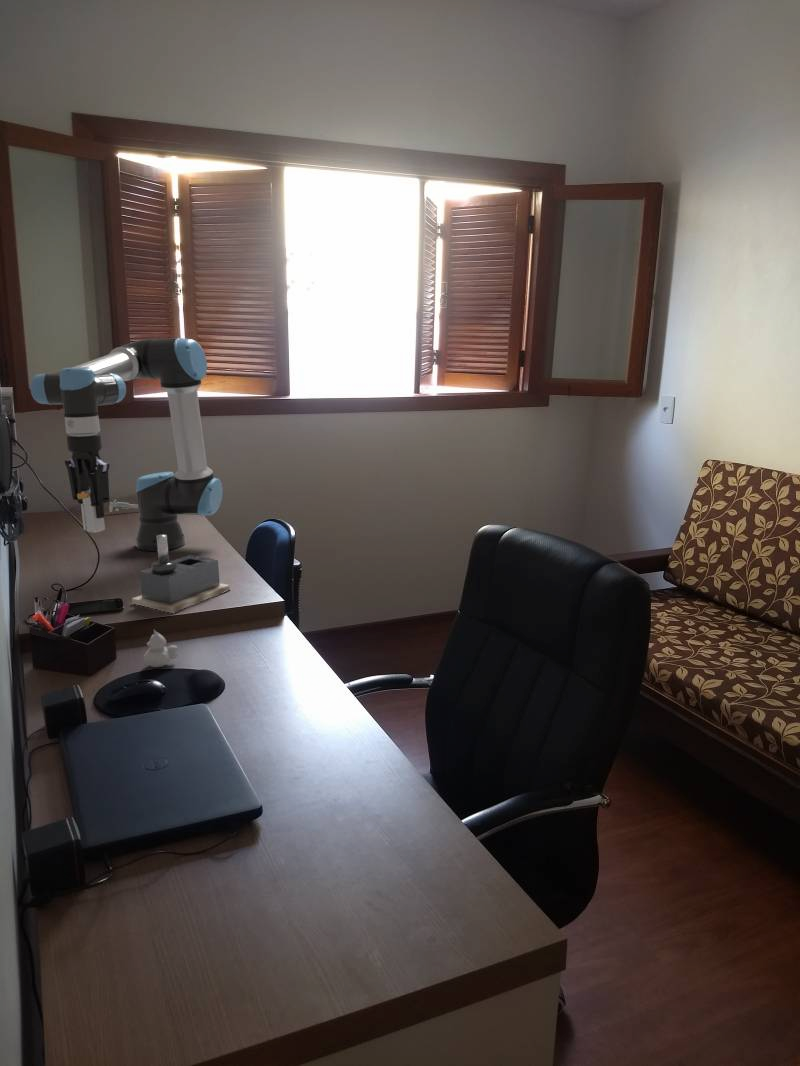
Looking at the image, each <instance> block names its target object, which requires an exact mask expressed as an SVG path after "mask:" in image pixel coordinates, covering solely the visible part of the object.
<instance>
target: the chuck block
mask: <svg viewBox="0 0 800 1066" xmlns="http://www.w3.org/2000/svg"><path fill="white" fill-rule="evenodd" d="M157 546H158V551H157V555H158V557H157V558H158V560H155V561H153V562H151V564H150V565H151V567H148V568H146V569H143V570H140V571H139V577H140V578H139V580H140V586H141V587H140V589H141V590H140V591H141V595H142V598H144V599H148V600H153V601H157V602H161V603H166V604H170V605H171V604H174V603H176V602H179V601H181V600H184V599H187V598H189V597H192V596H194V595H197V594H199V593H202V592H204V591H207V590H210V589H212V588H215V587H217V586H220V583H221V582H220V571H219V559H216V558H210V557H203V556H198V555H192V554H188V555H184V556H182V557H179V558H176V559H170V556H169V550H168V544H167V535H165V534H161V535H157Z"/></svg>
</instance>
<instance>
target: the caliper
mask: <svg viewBox="0 0 800 1066" xmlns="http://www.w3.org/2000/svg"><path fill="white" fill-rule="evenodd" d="M114 508H115V510H114V512H115V511H118V512H119V511H120V509H121V510H126V511H129V509H134V510H135V509H136V510H137V509H138V504H130V503H129V502H123V501H121V502H120V501H117V499H111V501H109V506H108V510H109V513H110V512H112V513H113V509H114Z"/></svg>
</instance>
